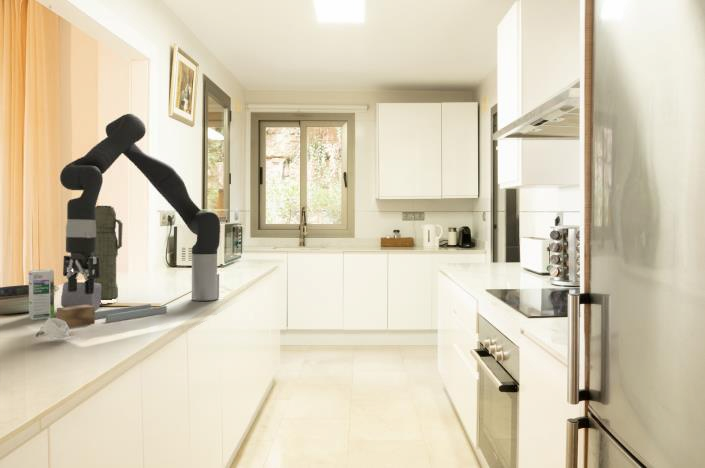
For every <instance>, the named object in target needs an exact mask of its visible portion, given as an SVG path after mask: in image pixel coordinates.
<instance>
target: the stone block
mask: <svg viewBox="0 0 705 468" xmlns="http://www.w3.org/2000/svg"><path fill="white" fill-rule="evenodd" d="M100 303H101V284H98V283H94V293H93V294H85V281H84V282H83V281H81V282H80V281H79V282H78V281H77V291H75V292H69V291H68V281H65V282H63V285H62V291H61V296H60V304H61V307H71V306H79V305H91V306H95V312H97V310H98V309H99V308H100V305H101V304H100Z"/></svg>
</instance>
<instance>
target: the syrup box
mask: <svg viewBox="0 0 705 468" xmlns="http://www.w3.org/2000/svg"><path fill="white" fill-rule="evenodd" d="M28 318H29V319H30V320H31V321H37V320H48V318H55V271H54V270H53V269H39V270H38V269H35V270H34V269H33V270H31V269H30V270H29V271H28Z"/></svg>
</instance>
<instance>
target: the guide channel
mask: <svg viewBox="0 0 705 468" xmlns="http://www.w3.org/2000/svg"><path fill="white" fill-rule="evenodd" d="M167 309H168V306H165V305H161V306H156V307H152V304H151V303H146V304H141V305H140V304H139V305H133V306H126V307H117V308H112V309H103V310H98V311H97V310H96V311H95V320H99V319H104V318H105V323H112V322H117V321H122V320H124V321H125V320H130V319H136V318H142V317H148V316H153V315H160V314H165V313H168V312H167Z"/></svg>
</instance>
